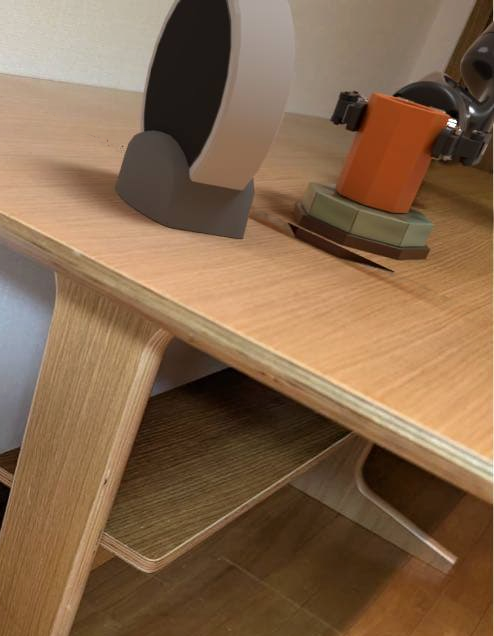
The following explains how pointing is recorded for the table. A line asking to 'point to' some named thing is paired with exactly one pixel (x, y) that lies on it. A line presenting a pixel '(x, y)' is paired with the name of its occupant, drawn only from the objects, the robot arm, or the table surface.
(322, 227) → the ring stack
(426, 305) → the table surface
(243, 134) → the alarm clock
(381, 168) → the orange octagonal prism
